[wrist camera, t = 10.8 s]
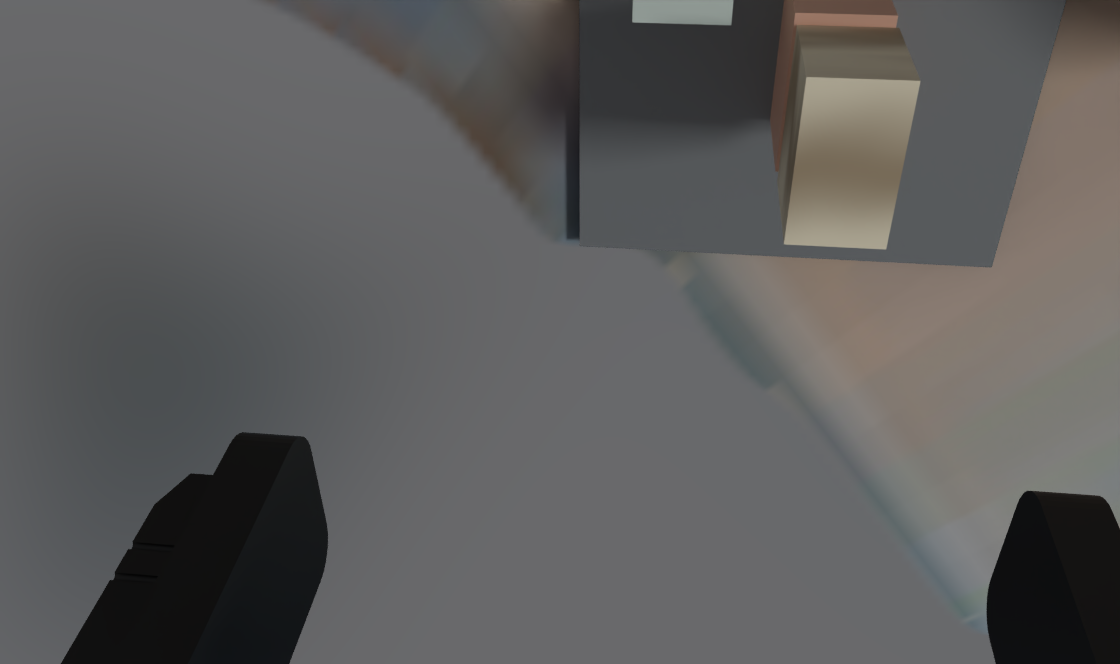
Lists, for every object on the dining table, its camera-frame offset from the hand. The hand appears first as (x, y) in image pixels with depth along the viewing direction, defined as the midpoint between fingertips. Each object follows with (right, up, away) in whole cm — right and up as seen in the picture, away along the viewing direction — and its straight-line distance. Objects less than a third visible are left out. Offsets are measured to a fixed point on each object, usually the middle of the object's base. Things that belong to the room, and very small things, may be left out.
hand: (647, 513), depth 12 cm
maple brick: (+9, +10, +25) cm, 28 cm away
